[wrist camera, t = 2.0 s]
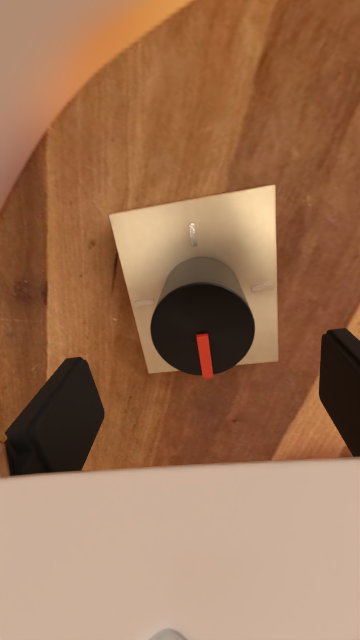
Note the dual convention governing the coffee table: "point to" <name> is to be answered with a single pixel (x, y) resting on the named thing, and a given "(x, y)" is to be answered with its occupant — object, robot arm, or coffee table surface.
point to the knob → (202, 318)
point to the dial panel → (203, 241)
